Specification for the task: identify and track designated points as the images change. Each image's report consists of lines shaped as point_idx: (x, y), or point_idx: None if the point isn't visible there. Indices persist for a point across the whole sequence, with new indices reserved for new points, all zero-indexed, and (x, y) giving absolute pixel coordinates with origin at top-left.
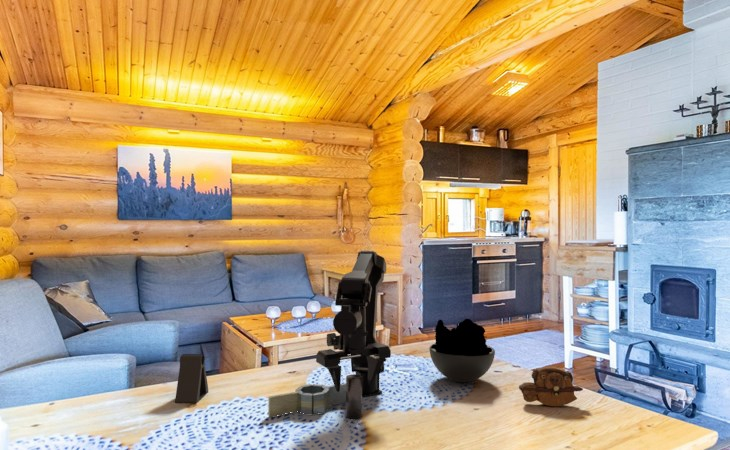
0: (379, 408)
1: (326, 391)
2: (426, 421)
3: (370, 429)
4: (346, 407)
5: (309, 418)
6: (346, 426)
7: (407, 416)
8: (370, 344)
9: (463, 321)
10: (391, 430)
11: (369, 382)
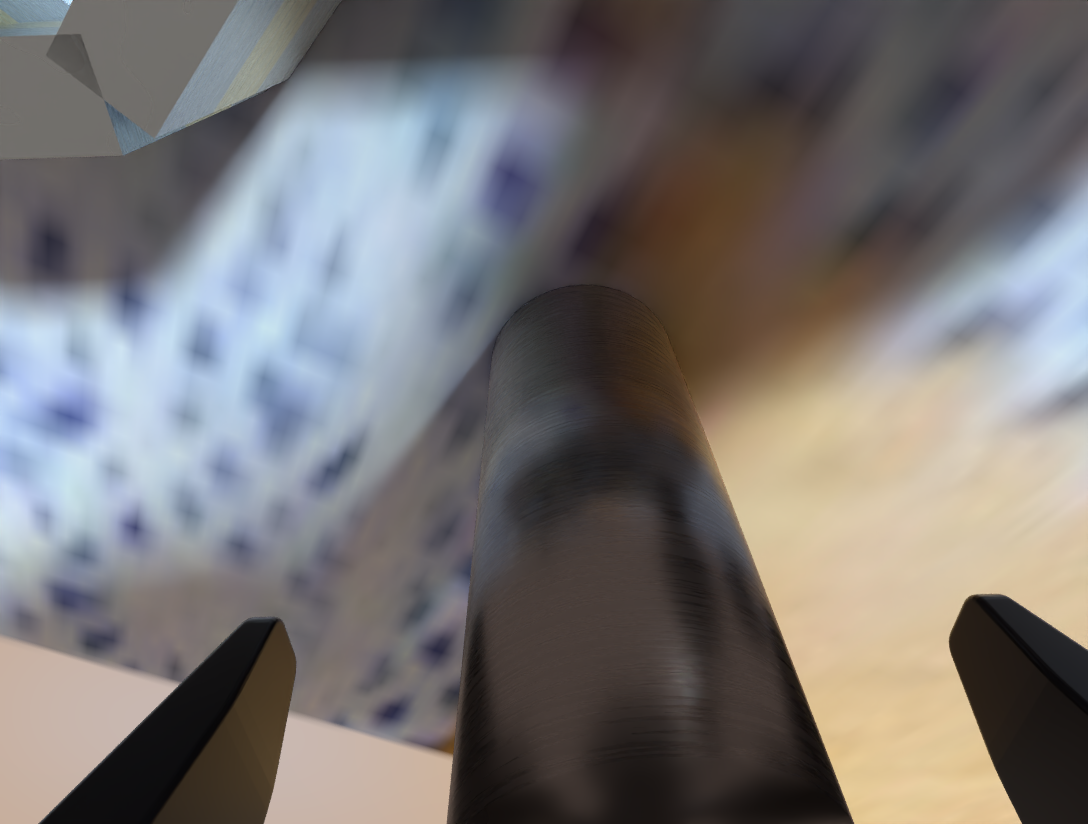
0: (990, 289)
1: (191, 44)
2: None
3: None
4: (484, 431)
5: (32, 183)
6: (409, 526)
7: (1017, 562)
8: None
9: None
10: None
11: (987, 674)
